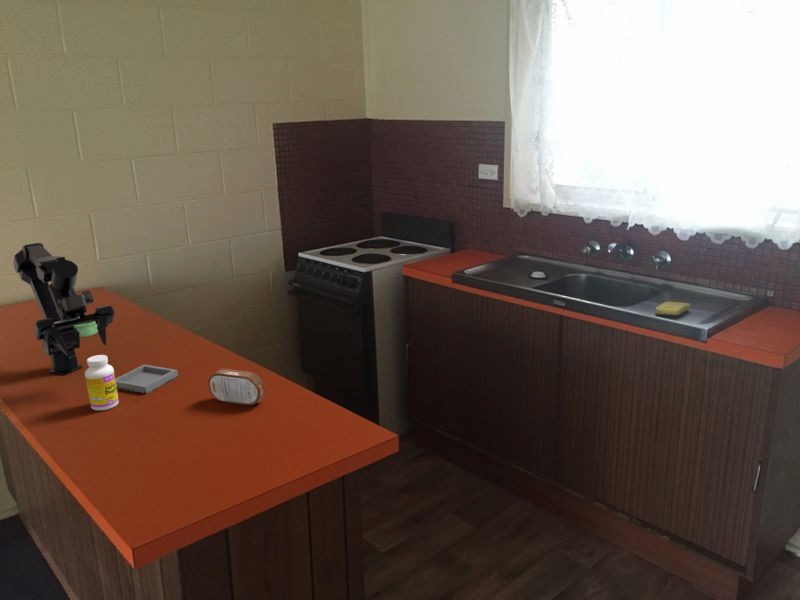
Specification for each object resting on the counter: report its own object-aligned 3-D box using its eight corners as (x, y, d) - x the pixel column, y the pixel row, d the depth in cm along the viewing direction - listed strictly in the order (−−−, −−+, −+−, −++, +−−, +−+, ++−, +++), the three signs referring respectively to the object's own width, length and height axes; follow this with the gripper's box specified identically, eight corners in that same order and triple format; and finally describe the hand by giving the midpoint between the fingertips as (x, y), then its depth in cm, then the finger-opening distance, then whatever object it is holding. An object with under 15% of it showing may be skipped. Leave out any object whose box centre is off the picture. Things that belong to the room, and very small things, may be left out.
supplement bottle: (109, 412, 167) (100, 364, 164) (85, 410, 169) (76, 362, 165) (124, 400, 174) (116, 353, 170) (101, 399, 175) (93, 352, 171)
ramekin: (105, 331, 228) (103, 319, 226) (81, 339, 220) (79, 327, 219) (89, 327, 232) (87, 315, 231) (65, 335, 225) (62, 323, 224)
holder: (112, 387, 182) (111, 380, 181) (145, 371, 192) (143, 364, 192) (146, 394, 177) (145, 387, 176) (178, 376, 187) (177, 369, 187)
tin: (267, 403, 169) (264, 371, 167) (260, 408, 166) (257, 376, 164) (215, 396, 174) (211, 366, 172) (208, 401, 171) (204, 371, 169)
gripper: (28, 290, 166) (49, 343, 161) (106, 275, 178) (128, 324, 173) (26, 314, 174) (46, 365, 169) (101, 298, 186) (122, 345, 181)
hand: (86, 349), depth 173 cm, fingers open, 9 cm apart
